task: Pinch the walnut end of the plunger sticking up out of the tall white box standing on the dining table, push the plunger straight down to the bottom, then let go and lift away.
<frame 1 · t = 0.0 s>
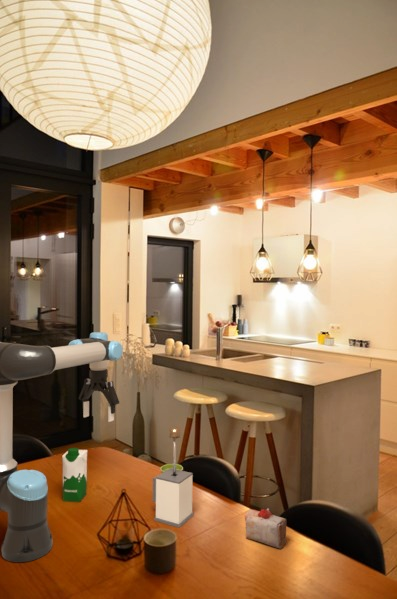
hand: (98, 418, 195), 28 cm above the table, fingers open, 13 cm apart
plunger: (174, 455, 166), point 23 cm above the table, slide at 0.0 cm
food item: (265, 540, 152), on the table
tall white box: (174, 517, 166), on the table
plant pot: (171, 489, 192), on the table
milk carton: (74, 498, 182), on the table
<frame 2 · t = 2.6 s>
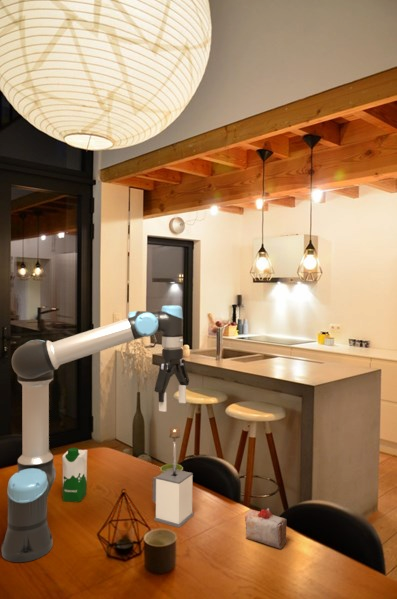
hand: (172, 406, 166), 40 cm above the table, fingers open, 13 cm apart
nothing on the table moved.
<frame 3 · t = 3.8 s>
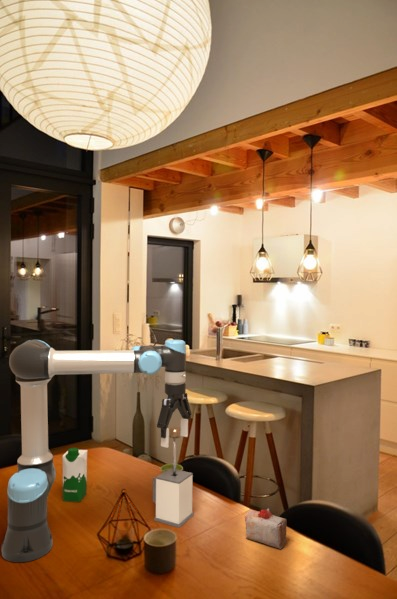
hand: (174, 441, 166), 28 cm above the table, fingers open, 13 cm apart
nothing on the table moved.
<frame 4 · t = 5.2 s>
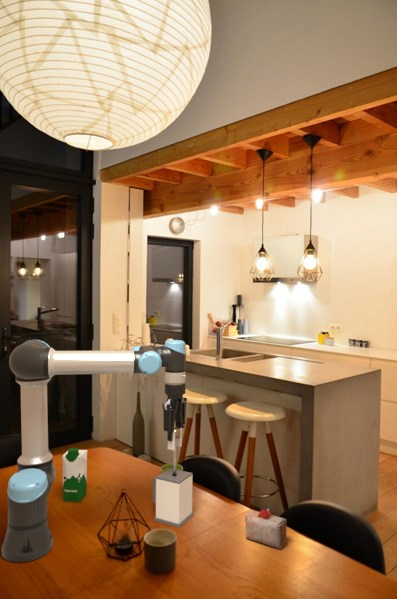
hand: (174, 447, 166), 26 cm above the table, fingers closed on plunger, 4 cm apart
plunger: (174, 455, 166), point 23 cm above the table, slide at 0.0 cm, touching gripper
everything else where it was.
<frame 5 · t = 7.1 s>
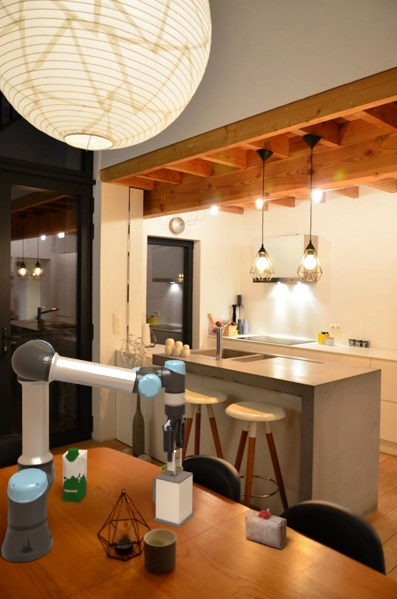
hand: (174, 467, 166), 18 cm above the table, fingers closed on plunger, 4 cm apart
plunger: (174, 476, 166), point 15 cm above the table, slide at 7.5 cm, touching gripper
everything else where it was.
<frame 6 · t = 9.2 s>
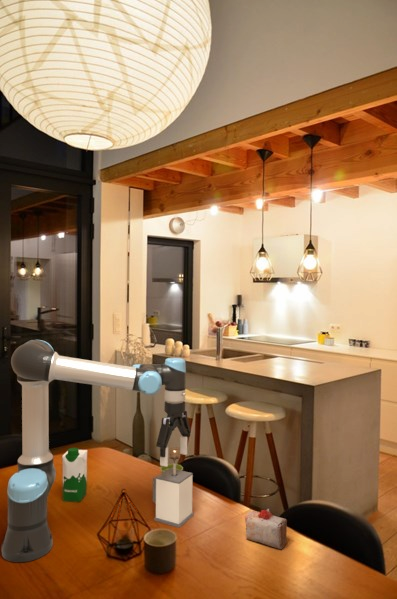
hand: (174, 459, 166), 21 cm above the table, fingers open, 13 cm apart
plunger: (174, 476, 166), point 15 cm above the table, slide at 7.5 cm
everything else where it was.
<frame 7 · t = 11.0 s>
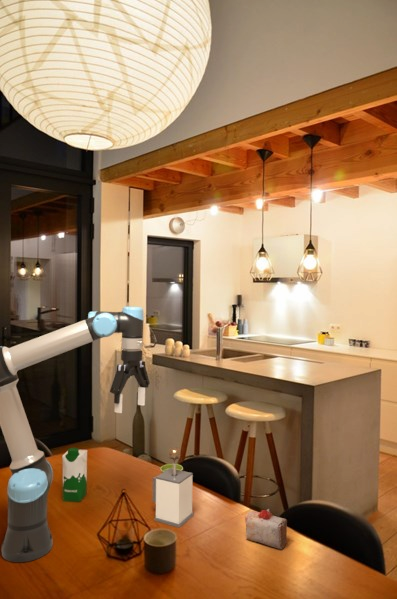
hand: (130, 408, 165), 40 cm above the table, fingers open, 13 cm apart
nothing on the table moved.
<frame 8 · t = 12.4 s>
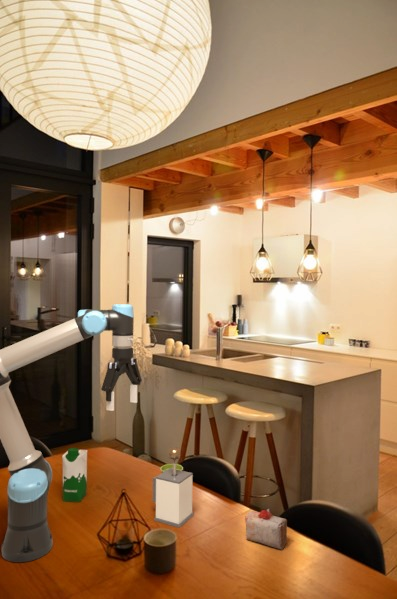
hand: (122, 406, 165), 41 cm above the table, fingers open, 13 cm apart
nothing on the table moved.
at the end: plunger slide at 7.5 cm; the gripper is holding nothing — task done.
